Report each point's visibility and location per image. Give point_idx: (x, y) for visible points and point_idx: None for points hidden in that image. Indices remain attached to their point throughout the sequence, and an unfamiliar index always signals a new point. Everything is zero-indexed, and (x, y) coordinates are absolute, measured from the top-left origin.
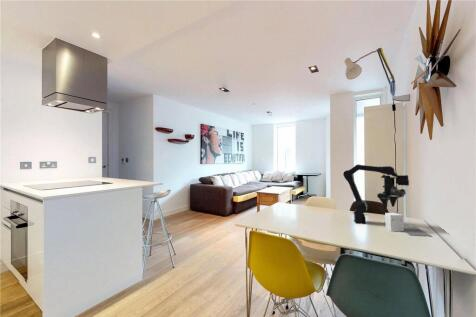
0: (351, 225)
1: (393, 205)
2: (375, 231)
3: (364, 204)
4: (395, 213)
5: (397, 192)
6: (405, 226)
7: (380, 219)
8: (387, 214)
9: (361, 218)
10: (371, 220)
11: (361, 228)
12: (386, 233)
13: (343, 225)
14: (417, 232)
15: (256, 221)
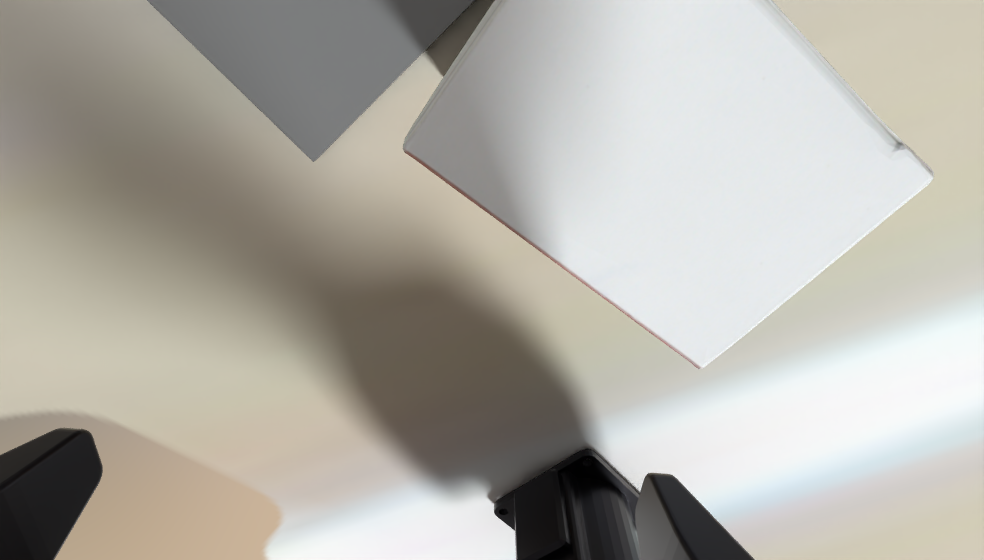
0: (782, 504)
1: (49, 474)
2: (879, 242)
3: None
4: (575, 150)
5: None
6: (225, 27)
7: (183, 425)
8: (801, 282)
9: (625, 540)
10: (349, 466)
11: (843, 399)
12: (892, 97)
13: (844, 545)
14: None
15: None
